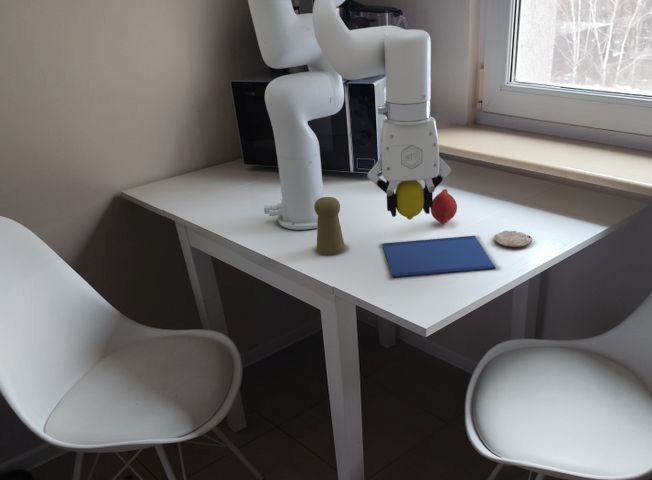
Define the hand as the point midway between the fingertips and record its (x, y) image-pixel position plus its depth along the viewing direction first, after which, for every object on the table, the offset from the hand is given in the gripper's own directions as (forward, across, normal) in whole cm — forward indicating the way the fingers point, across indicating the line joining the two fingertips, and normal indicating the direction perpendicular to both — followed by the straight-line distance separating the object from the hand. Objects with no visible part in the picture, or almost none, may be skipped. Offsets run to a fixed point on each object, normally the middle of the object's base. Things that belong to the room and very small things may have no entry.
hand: (409, 211), depth 115 cm
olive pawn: (+12, -15, +12) cm, 22 cm away
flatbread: (+11, +23, +8) cm, 27 cm away
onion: (+12, +11, +21) cm, 26 cm away
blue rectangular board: (+11, +6, +4) cm, 14 cm away
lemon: (+2, 0, 0) cm, 2 cm away
